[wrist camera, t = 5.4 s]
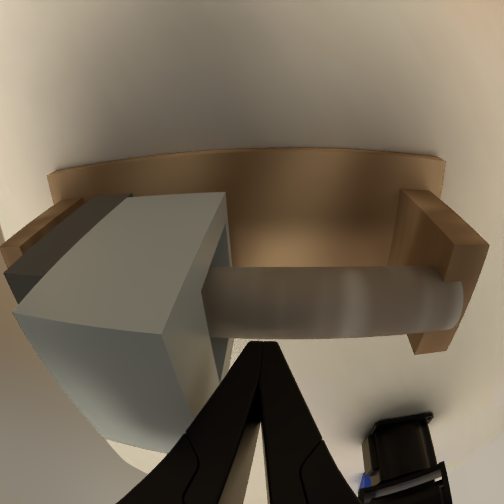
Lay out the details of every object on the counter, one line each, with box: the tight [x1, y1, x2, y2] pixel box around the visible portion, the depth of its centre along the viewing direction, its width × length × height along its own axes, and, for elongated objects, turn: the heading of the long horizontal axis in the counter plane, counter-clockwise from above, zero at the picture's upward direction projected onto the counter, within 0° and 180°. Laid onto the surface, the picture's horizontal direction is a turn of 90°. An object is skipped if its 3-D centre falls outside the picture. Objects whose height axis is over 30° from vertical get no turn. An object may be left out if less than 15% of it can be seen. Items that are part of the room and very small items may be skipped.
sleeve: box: [12, 192, 234, 454], centre depth 9 cm, size 4×6×7 cm, turn 3°
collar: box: [4, 193, 133, 304], centre depth 11 cm, size 2×6×6 cm, turn 3°
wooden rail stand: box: [0, 148, 489, 355], centre depth 12 cm, size 20×8×7 cm, turn 93°
